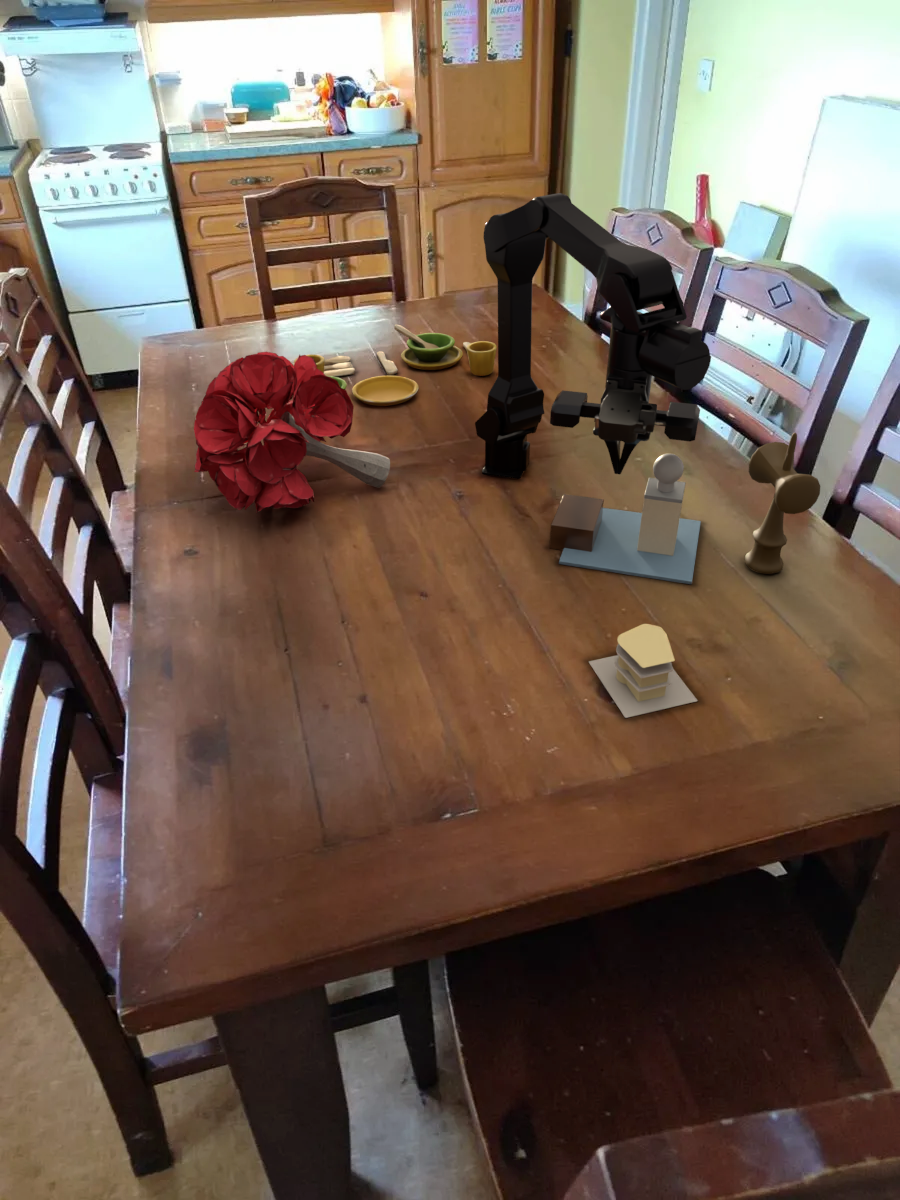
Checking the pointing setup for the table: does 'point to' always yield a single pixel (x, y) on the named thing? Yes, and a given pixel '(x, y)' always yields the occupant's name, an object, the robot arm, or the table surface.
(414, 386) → the tableware set
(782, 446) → the kendama
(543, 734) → the table surface
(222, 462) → the bouquet
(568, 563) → the placemat
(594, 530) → the walnut block
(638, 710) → the stacked layers on plate
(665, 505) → the salt mill
